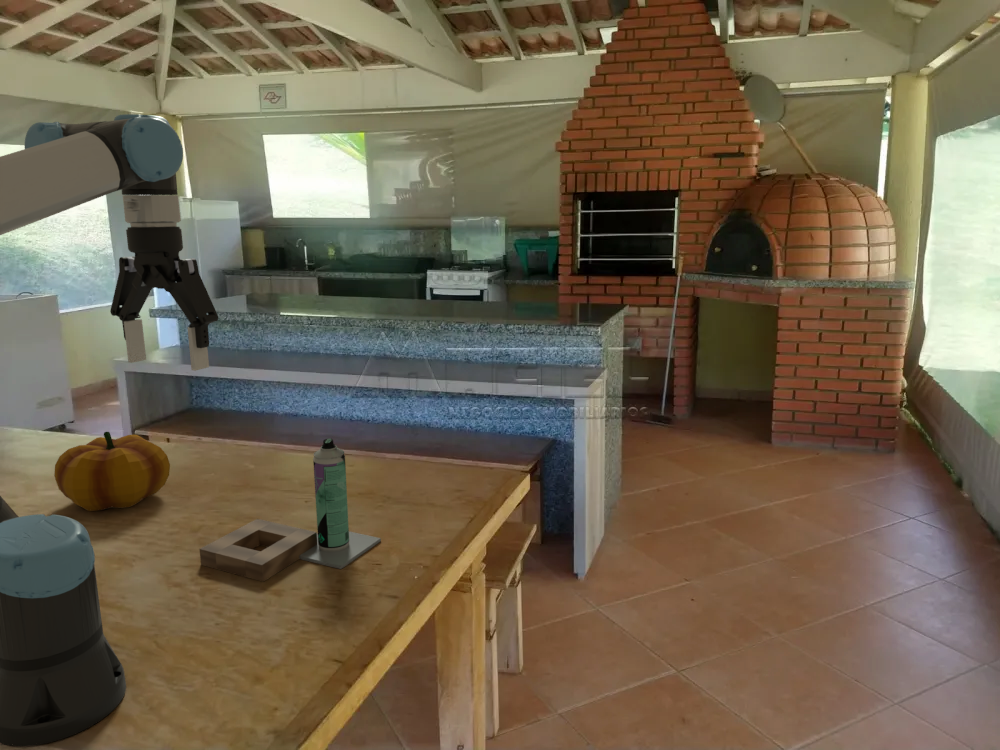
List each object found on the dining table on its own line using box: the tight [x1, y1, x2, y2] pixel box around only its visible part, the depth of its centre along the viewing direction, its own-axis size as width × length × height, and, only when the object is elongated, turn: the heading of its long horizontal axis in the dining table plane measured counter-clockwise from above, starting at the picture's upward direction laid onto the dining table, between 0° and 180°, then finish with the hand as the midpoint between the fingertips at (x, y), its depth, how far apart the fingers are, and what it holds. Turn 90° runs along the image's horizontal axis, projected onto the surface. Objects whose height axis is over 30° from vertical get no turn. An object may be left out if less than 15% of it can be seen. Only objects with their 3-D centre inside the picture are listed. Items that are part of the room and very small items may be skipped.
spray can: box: [312, 438, 350, 552], centre depth 134 cm, size 6×6×20 cm
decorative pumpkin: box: [53, 431, 171, 512], centre depth 157 cm, size 20×22×15 cm
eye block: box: [198, 518, 318, 582], centre depth 133 cm, size 14×14×3 cm
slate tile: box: [298, 530, 382, 570], centre depth 136 cm, size 12×12×1 cm
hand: (168, 365), depth 116 cm, fingers open, 13 cm apart
